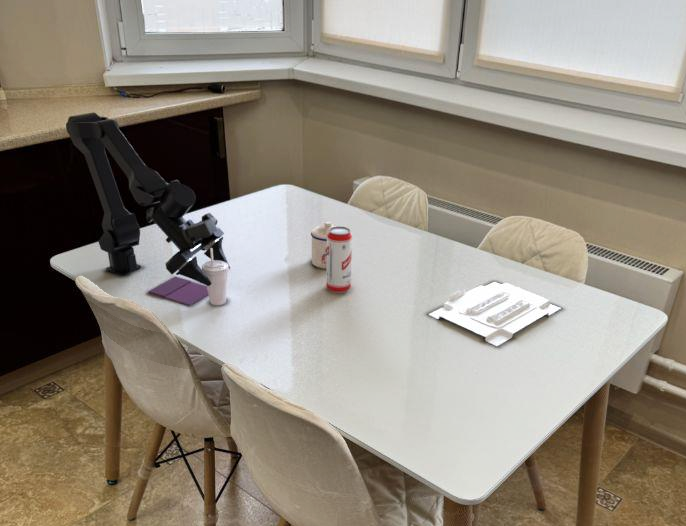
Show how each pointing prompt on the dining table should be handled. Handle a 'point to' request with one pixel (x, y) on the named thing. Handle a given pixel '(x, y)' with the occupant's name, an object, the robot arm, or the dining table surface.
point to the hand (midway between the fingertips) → (219, 277)
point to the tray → (495, 310)
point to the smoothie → (216, 279)
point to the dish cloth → (181, 291)
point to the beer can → (339, 259)
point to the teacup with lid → (320, 245)
